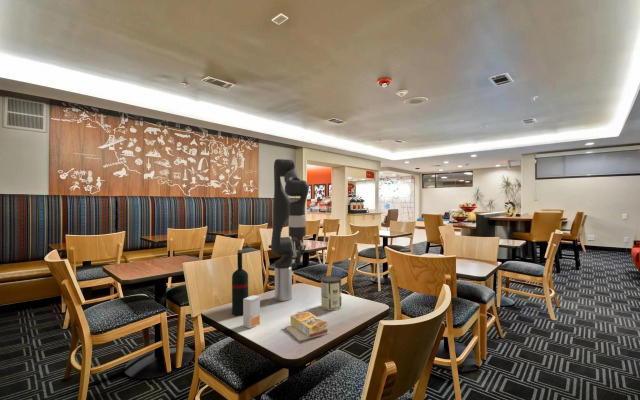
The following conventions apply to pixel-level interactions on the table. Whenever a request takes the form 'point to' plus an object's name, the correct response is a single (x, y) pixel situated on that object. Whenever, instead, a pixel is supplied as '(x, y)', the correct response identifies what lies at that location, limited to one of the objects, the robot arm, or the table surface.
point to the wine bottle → (239, 287)
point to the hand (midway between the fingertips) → (297, 264)
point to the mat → (300, 333)
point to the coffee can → (331, 292)
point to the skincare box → (251, 311)
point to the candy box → (309, 324)
